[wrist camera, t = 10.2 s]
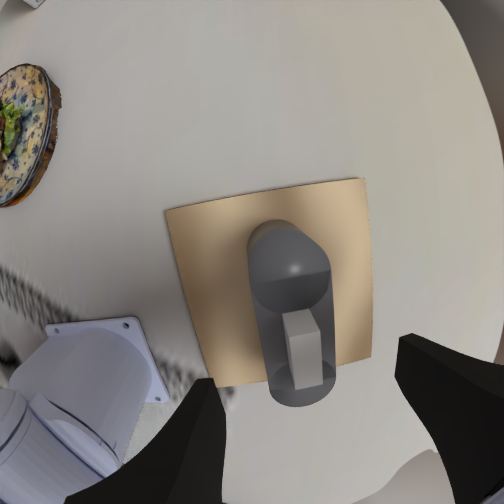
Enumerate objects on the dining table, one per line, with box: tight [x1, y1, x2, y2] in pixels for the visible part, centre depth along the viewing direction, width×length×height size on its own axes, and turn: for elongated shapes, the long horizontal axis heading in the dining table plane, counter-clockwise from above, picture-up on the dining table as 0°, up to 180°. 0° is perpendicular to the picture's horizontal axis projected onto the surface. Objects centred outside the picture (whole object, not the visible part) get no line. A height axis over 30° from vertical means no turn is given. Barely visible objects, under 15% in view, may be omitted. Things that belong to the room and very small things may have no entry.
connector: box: [247, 219, 336, 407], centre depth 14 cm, size 4×10×7 cm, turn 9°
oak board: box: [165, 178, 373, 388], centre depth 18 cm, size 12×13×1 cm
